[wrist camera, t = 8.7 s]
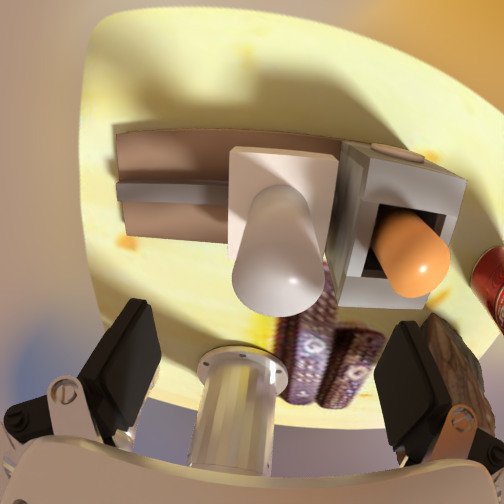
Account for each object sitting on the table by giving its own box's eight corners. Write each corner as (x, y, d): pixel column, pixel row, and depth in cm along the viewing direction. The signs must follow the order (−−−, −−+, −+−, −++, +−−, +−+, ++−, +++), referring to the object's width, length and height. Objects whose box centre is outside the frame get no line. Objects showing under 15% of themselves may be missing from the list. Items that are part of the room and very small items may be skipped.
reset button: (413, 264, 18) (435, 298, 14) (364, 260, 18) (380, 296, 15) (429, 212, 16) (459, 240, 12) (378, 204, 16) (401, 232, 13)
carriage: (316, 245, 24) (336, 348, 14) (234, 238, 24) (203, 337, 14) (329, 152, 20) (378, 202, 10) (237, 144, 20) (194, 185, 10)
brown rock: (469, 340, 31) (515, 447, 14) (411, 387, 37) (434, 491, 20) (435, 309, 29) (495, 448, 12) (365, 367, 35) (386, 500, 17)
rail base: (388, 250, 26) (422, 309, 18) (133, 229, 27) (86, 277, 20) (412, 148, 21) (468, 174, 13) (124, 128, 22) (61, 146, 14)
